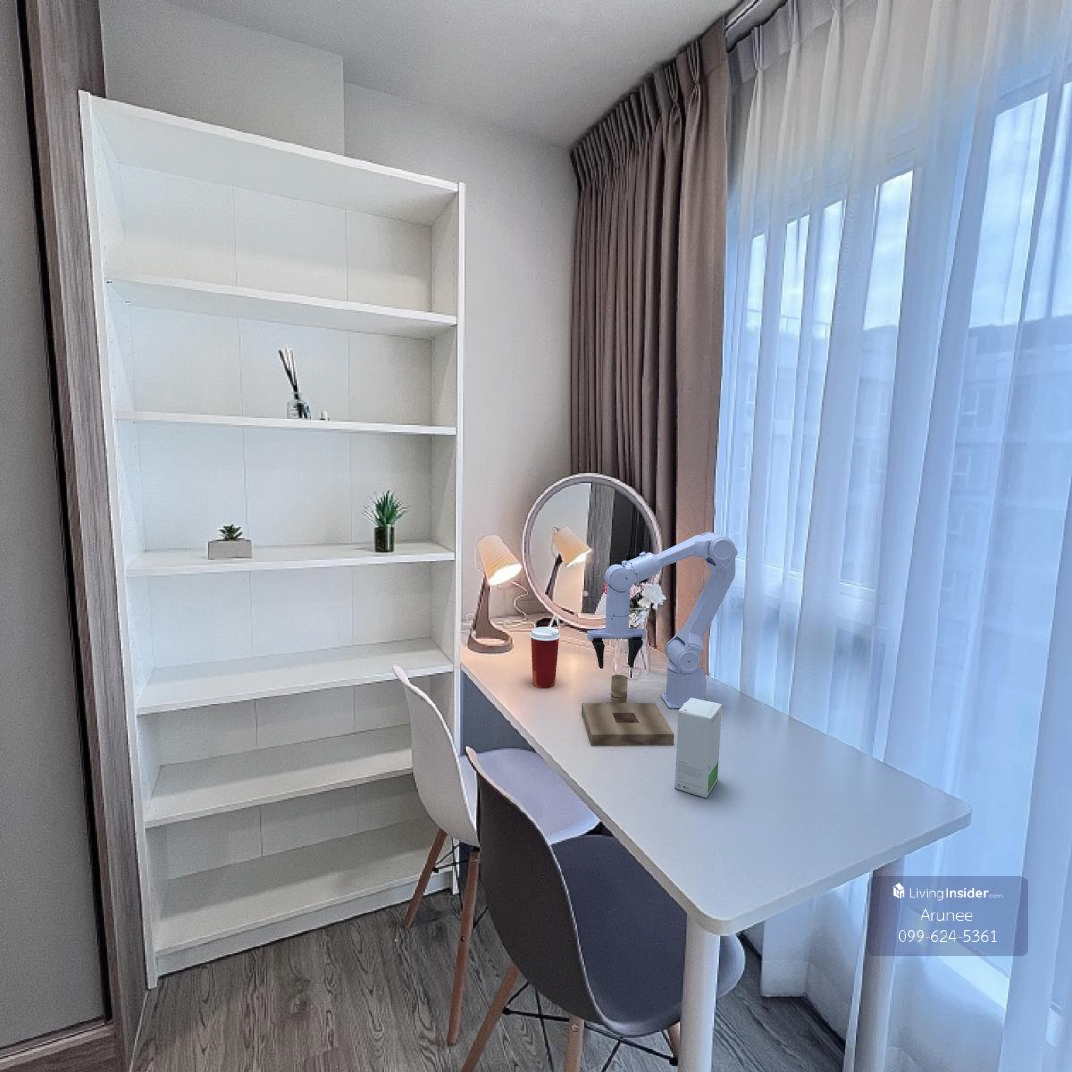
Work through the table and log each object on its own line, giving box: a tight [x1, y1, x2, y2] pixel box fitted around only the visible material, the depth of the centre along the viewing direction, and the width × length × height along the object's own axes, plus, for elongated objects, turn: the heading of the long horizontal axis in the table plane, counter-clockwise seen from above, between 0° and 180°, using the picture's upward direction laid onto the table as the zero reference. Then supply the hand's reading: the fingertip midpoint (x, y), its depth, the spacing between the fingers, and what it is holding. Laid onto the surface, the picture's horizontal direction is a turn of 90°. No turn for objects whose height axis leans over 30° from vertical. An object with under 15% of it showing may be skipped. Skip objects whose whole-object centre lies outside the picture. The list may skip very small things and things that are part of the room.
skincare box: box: [674, 698, 723, 799], centre depth 113 cm, size 8×7×16 cm
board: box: [581, 702, 675, 747], centre depth 136 cm, size 18×16×2 cm
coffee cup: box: [529, 626, 561, 689], centre depth 160 cm, size 8×8×15 cm
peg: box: [610, 674, 628, 703], centre depth 148 cm, size 4×4×7 cm
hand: (615, 666), depth 147 cm, fingers open, 7 cm apart
